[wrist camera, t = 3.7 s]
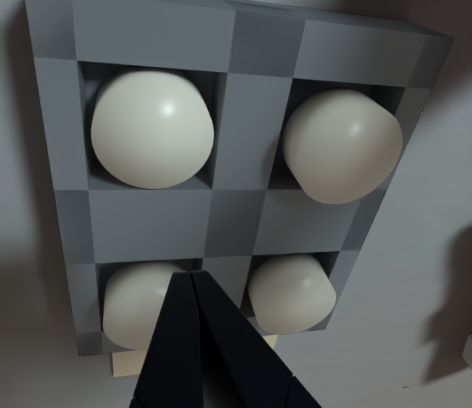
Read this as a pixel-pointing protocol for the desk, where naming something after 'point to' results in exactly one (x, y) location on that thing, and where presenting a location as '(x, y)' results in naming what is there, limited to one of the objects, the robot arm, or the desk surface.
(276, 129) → the button board
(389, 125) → the button
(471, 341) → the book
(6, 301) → the desk surface
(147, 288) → the button
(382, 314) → the desk surface
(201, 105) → the button
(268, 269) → the button
